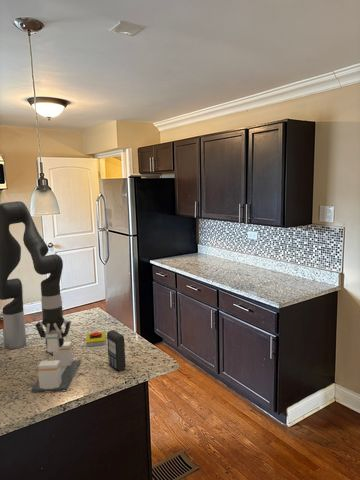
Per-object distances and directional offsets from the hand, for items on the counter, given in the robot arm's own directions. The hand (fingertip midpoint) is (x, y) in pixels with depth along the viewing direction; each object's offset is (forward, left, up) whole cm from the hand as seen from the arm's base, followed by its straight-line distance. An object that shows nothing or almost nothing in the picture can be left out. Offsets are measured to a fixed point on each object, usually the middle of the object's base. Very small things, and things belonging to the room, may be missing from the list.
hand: (55, 346), depth 143 cm
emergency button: (+9, +32, -14) cm, 36 cm away
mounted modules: (0, 0, -12) cm, 12 cm away
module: (0, 0, -1) cm, 1 cm away
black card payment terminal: (+23, +6, -13) cm, 27 cm away
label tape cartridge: (-8, +22, -13) cm, 27 cm away
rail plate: (0, 0, -13) cm, 13 cm away
